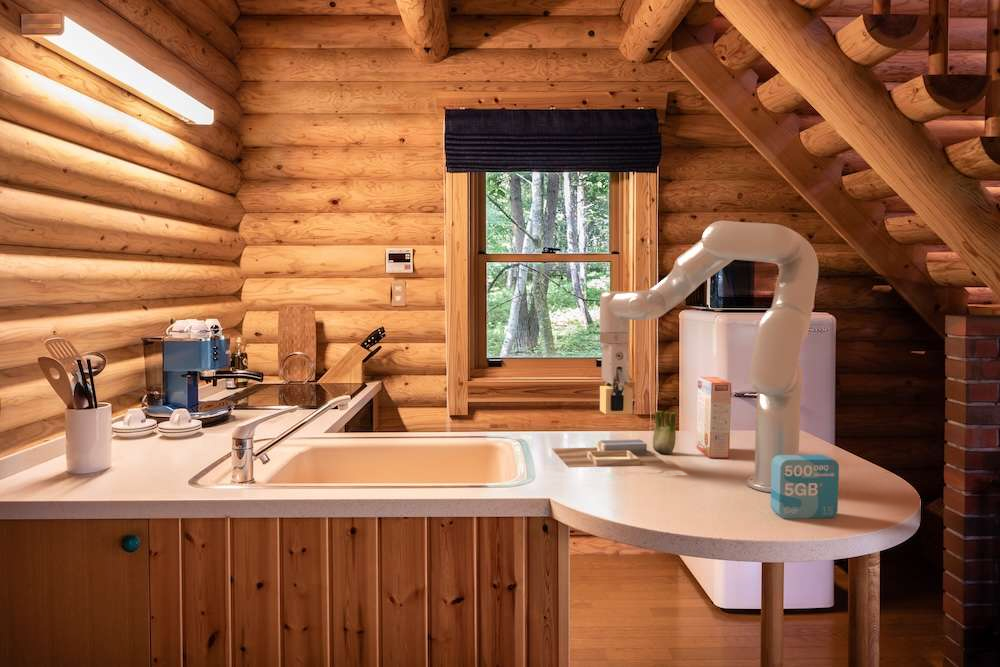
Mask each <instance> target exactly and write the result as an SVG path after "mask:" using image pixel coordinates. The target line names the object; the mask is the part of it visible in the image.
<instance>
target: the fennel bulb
mask: <svg viewBox="0 0 1000 667" xmlns="http://www.w3.org/2000/svg"><path fill="white" fill-rule="evenodd" d="M676 416H677V413H676V412H670V411H663V410H660V411H659V410H658V411H657V410H656V411H654V430H653V434H652V435H653V436H652V448H653V450H654V451H655V452H657V453H659V454H662V455H663V454H664V455H665V454H666V455H669V454H672V453H673V451H674V449H675V447H676V446H675V445H676V438H677V437H676V436H677V435H676V433H677V431H676Z"/></svg>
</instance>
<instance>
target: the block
mask: <svg viewBox="0 0 1000 667" xmlns="http://www.w3.org/2000/svg"><path fill="white" fill-rule="evenodd" d="M615 388H616V386H615ZM633 390H634V388H633V387H631V386H628V385H627V384H624V405H623V411H611V395H612V386H604V385H599V411H600V412H602V413H603V414H605V415H627V414H629V415H630V414H631V415H632V414H634V413H633V412H634V411H633V410H634V409H633V408H634V407H633V404H634V402H633V401H634V399H633V396H634V395H633V394H634V392H633Z"/></svg>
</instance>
